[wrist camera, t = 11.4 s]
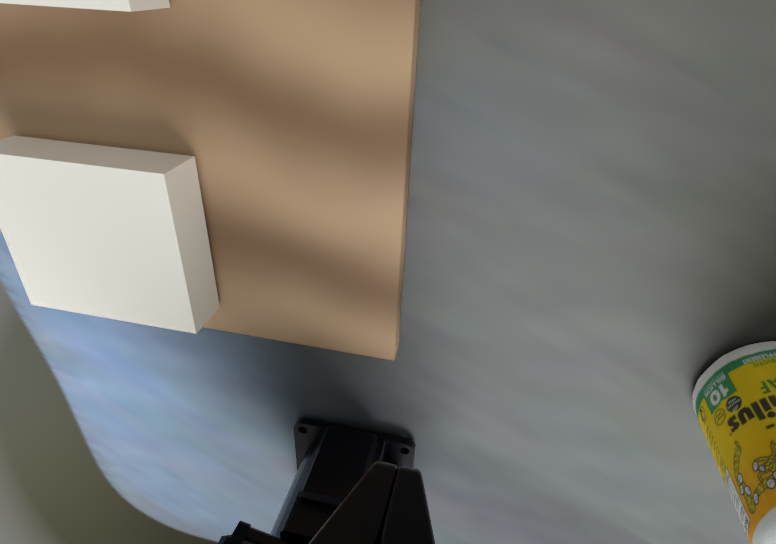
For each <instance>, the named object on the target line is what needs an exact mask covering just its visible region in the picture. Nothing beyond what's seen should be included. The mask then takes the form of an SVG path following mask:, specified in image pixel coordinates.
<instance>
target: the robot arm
mask: <svg viewBox="0 0 776 544" xmlns="http://www.w3.org/2000/svg"><path fill="white" fill-rule="evenodd" d="M294 436H295V448H296V459H297V474H296V476H295V478H294V481H293V483H292V485H291V488H290V490H289V492H288V495H287V497H286V499H285V501H284V504H283V506H282V508H281V511H280V513H279V515H278V518H277V520H276V522H275V525H274V527H273V529H272V531H271V534H268V533H265V532H262V531H260V530H257V529H255V528H252V527H251V524H248V523H245V522H243V521H240V522H239V523H238V525H237V527H236V529H235V530H234V532H233V534H232V535H227V536H222V537H221V539H220V541H219V543H218V544H435V541H434V536H433V530H432V525H431V520H430V515H429V510H428V505H427V499H426V494H425V489H424V484H423V479H422V474H421V472H420V470H418V469H414V468H413V466H414V456H415V443H414V442H413V441H412V440H410V439H408V438H404V437H398V436H393V435H388V434H383V433H378V432H373V431H368V430H363V429H358V428H353V427H348V426H343V425H338V424H333V423H328V422H323V421H318V420H313V419H308V418H299V419H298V420H297V421H296V424H295V426H294ZM404 447H405V448H404Z"/></svg>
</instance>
